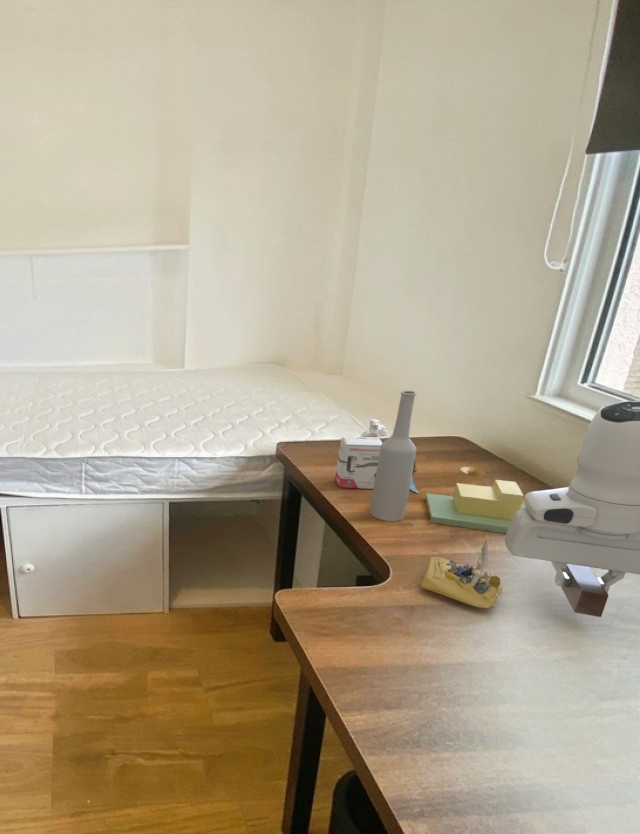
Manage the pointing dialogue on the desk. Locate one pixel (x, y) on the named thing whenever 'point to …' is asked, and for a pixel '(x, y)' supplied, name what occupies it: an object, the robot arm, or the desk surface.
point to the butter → (482, 502)
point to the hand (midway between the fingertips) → (579, 587)
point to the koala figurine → (375, 430)
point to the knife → (412, 481)
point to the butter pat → (508, 491)
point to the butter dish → (461, 515)
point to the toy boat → (463, 580)
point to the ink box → (358, 462)
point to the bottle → (395, 466)
